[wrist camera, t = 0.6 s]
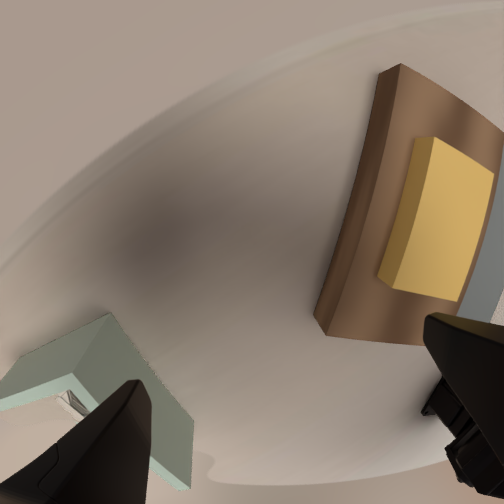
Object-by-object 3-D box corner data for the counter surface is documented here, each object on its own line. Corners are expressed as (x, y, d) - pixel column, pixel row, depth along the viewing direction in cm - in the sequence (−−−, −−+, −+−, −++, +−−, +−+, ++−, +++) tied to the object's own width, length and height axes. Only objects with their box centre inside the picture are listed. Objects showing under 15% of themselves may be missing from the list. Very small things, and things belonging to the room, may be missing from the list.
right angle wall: (20, 356, 21) (-20, 406, 13) (111, 311, 20) (72, 372, 13) (97, 444, 24) (80, 499, 17) (194, 420, 24) (190, 488, 17)
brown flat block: (480, 133, 19) (504, 133, 16) (423, 330, 23) (441, 347, 21) (379, 73, 18) (400, 63, 15) (313, 314, 22) (325, 335, 19)
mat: (530, 169, 21) (533, 170, 20) (486, 323, 25) (488, 325, 24) (478, 126, 19) (481, 126, 19) (426, 314, 23) (428, 316, 23)
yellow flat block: (475, 171, 17) (494, 174, 15) (440, 291, 19) (456, 301, 17) (415, 138, 16) (434, 136, 14) (376, 276, 18) (392, 288, 16)
